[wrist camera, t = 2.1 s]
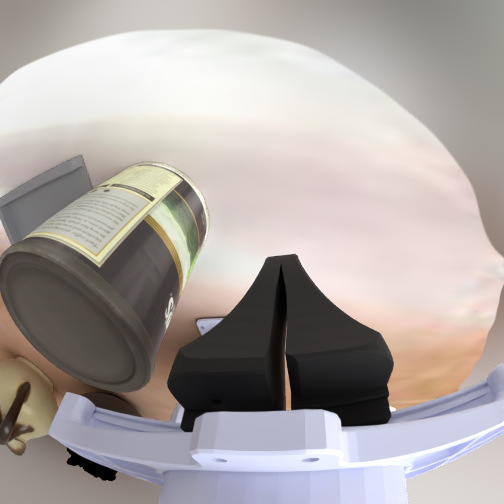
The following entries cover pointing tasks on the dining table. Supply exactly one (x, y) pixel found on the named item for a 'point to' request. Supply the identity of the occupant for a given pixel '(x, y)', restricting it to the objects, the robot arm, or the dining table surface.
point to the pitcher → (24, 403)
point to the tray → (43, 198)
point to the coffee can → (108, 275)
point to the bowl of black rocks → (109, 404)
